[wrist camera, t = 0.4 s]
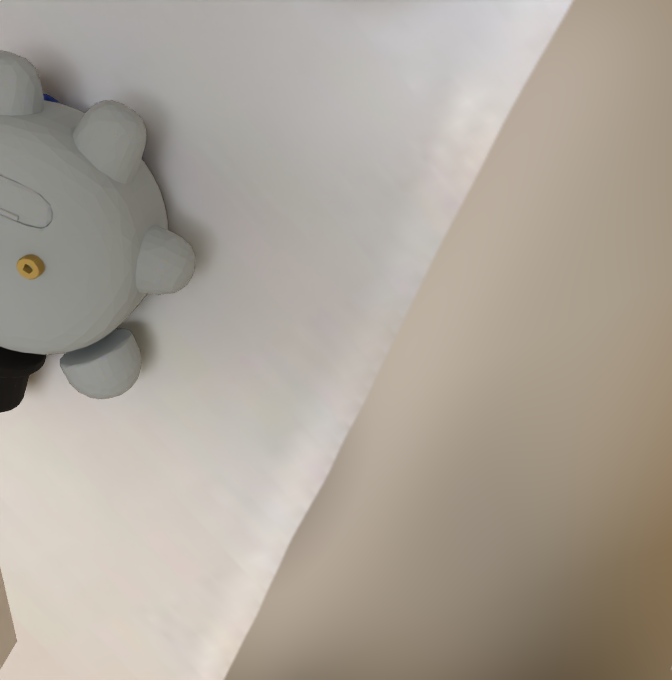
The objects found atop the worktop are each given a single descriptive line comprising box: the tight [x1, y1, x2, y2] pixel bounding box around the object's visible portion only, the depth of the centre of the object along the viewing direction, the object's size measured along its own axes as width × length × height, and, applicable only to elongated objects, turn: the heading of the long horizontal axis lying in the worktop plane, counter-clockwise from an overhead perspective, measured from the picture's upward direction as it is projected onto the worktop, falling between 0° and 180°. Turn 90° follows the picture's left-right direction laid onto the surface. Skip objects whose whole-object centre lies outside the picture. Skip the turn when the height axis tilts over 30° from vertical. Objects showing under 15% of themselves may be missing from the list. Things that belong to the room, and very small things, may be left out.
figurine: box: [0, 51, 195, 413], centre depth 35 cm, size 17×8×20 cm
